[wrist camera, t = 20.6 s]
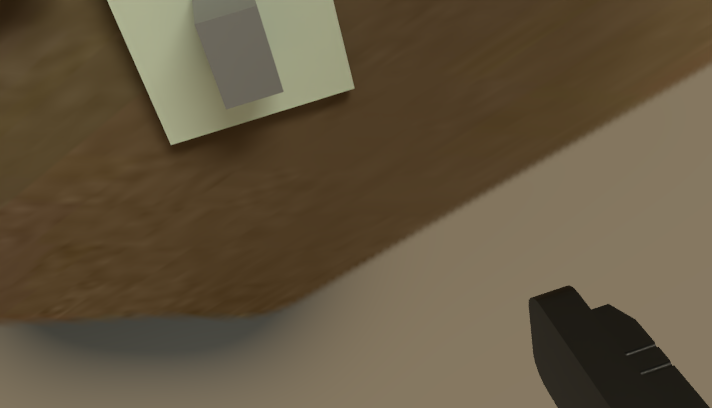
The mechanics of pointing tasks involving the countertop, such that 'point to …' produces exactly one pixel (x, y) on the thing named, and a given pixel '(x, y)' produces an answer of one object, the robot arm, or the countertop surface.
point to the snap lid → (232, 58)
